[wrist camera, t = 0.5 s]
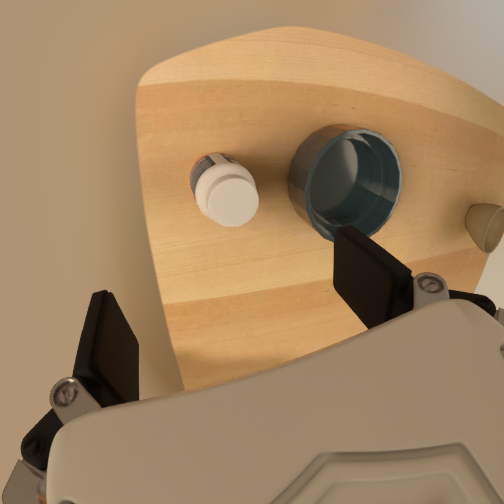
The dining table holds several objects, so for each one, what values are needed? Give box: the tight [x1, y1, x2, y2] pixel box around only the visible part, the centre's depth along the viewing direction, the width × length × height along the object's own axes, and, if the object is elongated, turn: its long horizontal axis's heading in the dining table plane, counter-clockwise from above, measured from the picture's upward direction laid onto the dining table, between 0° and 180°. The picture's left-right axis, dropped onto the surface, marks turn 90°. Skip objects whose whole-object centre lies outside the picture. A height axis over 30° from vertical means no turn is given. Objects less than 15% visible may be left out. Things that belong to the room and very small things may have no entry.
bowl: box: [288, 124, 402, 242], centre depth 31 cm, size 13×13×5 cm
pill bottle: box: [190, 153, 259, 227], centre depth 25 cm, size 5×5×9 cm
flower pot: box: [465, 204, 504, 255], centre depth 42 cm, size 10×10×7 cm
